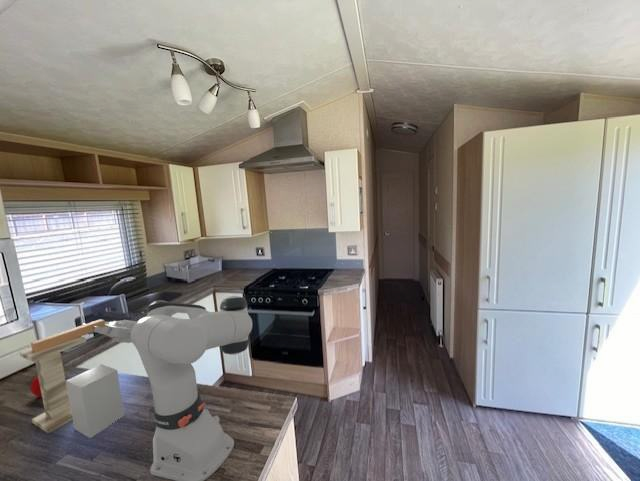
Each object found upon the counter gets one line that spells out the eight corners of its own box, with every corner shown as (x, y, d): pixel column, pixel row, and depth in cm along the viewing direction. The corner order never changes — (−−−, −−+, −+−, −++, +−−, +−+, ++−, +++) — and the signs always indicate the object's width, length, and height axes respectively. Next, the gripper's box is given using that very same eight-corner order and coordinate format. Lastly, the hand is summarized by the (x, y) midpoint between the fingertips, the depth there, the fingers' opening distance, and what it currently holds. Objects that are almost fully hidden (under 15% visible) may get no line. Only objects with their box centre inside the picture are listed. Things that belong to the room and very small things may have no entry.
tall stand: (98, 405, 101) (86, 338, 98) (48, 433, 89) (33, 358, 86) (81, 397, 107) (70, 333, 104) (32, 422, 94) (18, 351, 91)
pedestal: (124, 416, 95) (117, 369, 93) (90, 438, 86) (81, 387, 84) (108, 408, 99) (101, 364, 97) (74, 428, 90) (65, 380, 88)
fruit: (56, 396, 108) (52, 373, 107) (26, 403, 105) (21, 379, 104) (68, 383, 117) (64, 361, 115) (41, 389, 113) (37, 366, 112)
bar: (105, 327, 107) (104, 320, 107) (36, 352, 90) (34, 343, 89) (101, 326, 109) (100, 319, 108) (32, 350, 91) (30, 342, 91)
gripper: (136, 342, 109) (99, 340, 98) (108, 335, 118) (71, 332, 107) (142, 326, 112) (106, 322, 100) (114, 320, 121) (78, 315, 109)
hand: (88, 327), depth 104 cm, fingers open, 7 cm apart
